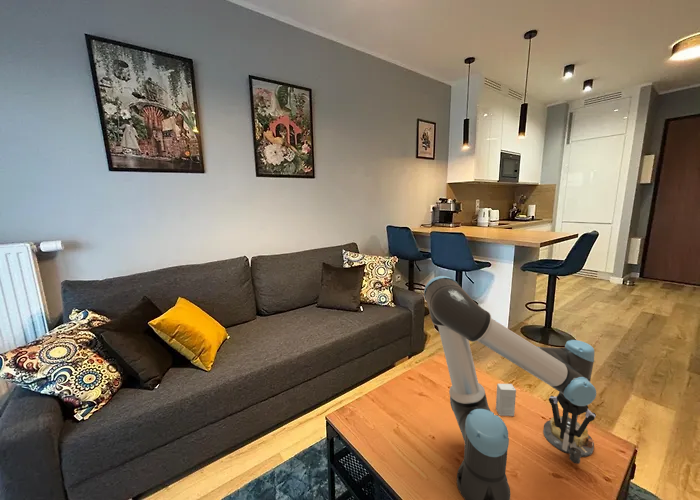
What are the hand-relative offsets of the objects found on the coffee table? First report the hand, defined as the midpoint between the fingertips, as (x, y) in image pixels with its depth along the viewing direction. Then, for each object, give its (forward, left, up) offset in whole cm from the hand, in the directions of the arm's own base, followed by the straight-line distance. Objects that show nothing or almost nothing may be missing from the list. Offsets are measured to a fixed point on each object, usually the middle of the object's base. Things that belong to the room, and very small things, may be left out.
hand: (565, 448), depth 104 cm
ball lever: (+5, 0, -1) cm, 5 cm away
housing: (+9, +2, -3) cm, 10 cm away
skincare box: (+4, +23, -3) cm, 24 cm away
